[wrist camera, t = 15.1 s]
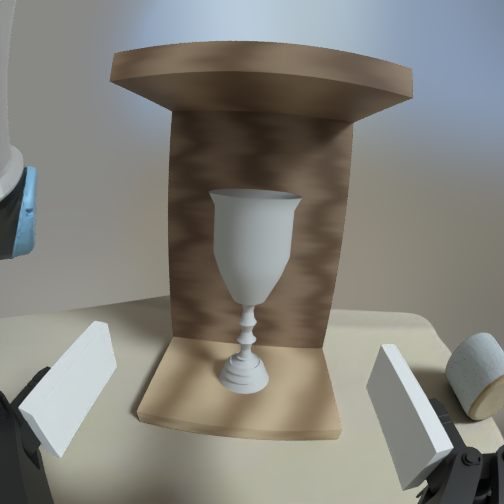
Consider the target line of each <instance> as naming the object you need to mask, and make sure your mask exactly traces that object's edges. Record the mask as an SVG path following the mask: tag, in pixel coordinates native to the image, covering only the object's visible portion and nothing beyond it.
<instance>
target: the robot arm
mask: <svg viewBox="0 0 504 504" xmlns="http://www.w3.org/2000/svg"><path fill="white" fill-rule="evenodd" d="M15 5H16V0H0V260H2V259H13V258H14V257H17V256H21V255H26V254H29V253H30V252H31V251H32V250H33V248H34V246H35V235H36V196H37V195H36V194H37V170H36V168H34V167H30V166H26V167H25V168H24V161H23V157H22V154H21V153H20V151H19V150H18V149H17V148H15V147H13V146H11V145H10V139H9V128H8V110H7V74H8V56H9V45H10V36H11V28H12V22H13V16H14V10H15ZM116 367H117V365H116V361H115V356H114V352H113V348H112V343H111V339H110V334H109V329H108V324H107V323H104V322H98V321H94V322H93V323H92V324H91V325H90V326H89V327H88V328H87V329H86V331H85V332H84V333H83V334H82V335H81V336H80V337H79V338H78V339H77V340H76V341H75V342H74V343H73V344H72V346H71V347H70V348H69V349H68V350H67V351H66V352H65V353H64V354H63V355H62V357H61V358H60V359H59V360H58V361H57V362H56V363H55V364H54V366H53V367H52V368H50V367H46V368H44V369H42V370H40V371H39V372H38V373H37V374H36V375H35V376H34V377H33V378H32V380H31V381H30V382H29V383H28V384H27V386H25V387H24V389H23V390H22V391H21V392H20V393H19V394H18V396H17V397H16V398H15V399H14V400H13V401H12V403H11V404H9V402H8V401H7V399H6V397H5V395H4V394H3V393H2V392H1V391H0V504H54V502H53V499H52V495H51V492H50V489H49V485H48V482H47V478H46V474H45V470H44V466H43V462H42V457H41V453H40V451H39V449H38V447H39V446H40V444H42V446H43V447H44V448H45V450H46V451H47V452H49V453H51V454H53V455H55V456H57V457H59V458H61V457H62V455H63V453H64V452H65V450H66V448H67V446H68V445H69V443H70V441H71V440H72V438H73V436H74V435H75V433H76V431H77V429H78V428H79V426H80V424H81V423H82V421H83V420H84V418H85V416H86V415H87V413H88V411H89V410H90V408H91V406H92V405H93V403H94V402H95V400H96V398H97V397H98V395H99V394H100V392H101V391H102V389H103V387H104V386H105V384H106V383H107V381H108V380H109V378H110V376H111V375H112V373H113V372H114V370H115V369H116ZM366 388H367V391H368V393H369V396H370V398H371V401H372V404H373V406H374V409H375V412H376V414H377V417H378V420H379V422H380V425H381V428H382V431H383V434H384V436H385V439H386V442H387V445H388V448H389V451H390V454H391V456H392V459H393V462H394V465H395V468H396V471H397V475H398V478H399V481H400V484H401V487H402V490H407V489H411V488H414V487H418V486H419V485H420V484H421V483H422V482H423V481H424V480H425V479H426V480H427V483H428V485H427V486H426V487H425V488H424V489H423V490H422V491H421V492H420V493H419V494H418V495H417V496H416V497H417V498H418V497H420V496H421V495H422V496H421V498H420V500H419V502H418V504H504V445H503V446H501V447H500V448H499V449H498V450H497V451H496V453H489V454H481V453H480V452H479V451H478V450H477V449H475V448H473V447H467V446H466V445H465V443H464V442H463V440H462V438H461V436H460V434H459V432H458V431H457V429H456V427H455V425H454V424H453V422H451V421H452V420H451V418H450V417H449V415H448V413H447V411H446V410H445V408H444V406H443V405H442V404H441V403H440V402H439V401H437V400H436V399H435V398H433V399H427V397H426V395H425V393H424V392H423V390H422V388H421V387H420V385H419V383H418V381H417V380H416V378H415V376H414V375H413V373H412V371H411V370H410V368H409V366H408V365H407V363H406V361H405V360H404V358H403V357H402V355H401V353H400V352H399V350H398V349H397V347H396V345H395V344H387V345H381V347H380V350H379V353H378V356H377V358H376V361H375V364H374V367H373V370H372V372H371V375H370V378H369V380H368V383H367V386H366Z"/></svg>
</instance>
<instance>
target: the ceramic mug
mask: <svg viewBox="0 0 504 504" xmlns="http://www.w3.org/2000/svg"><path fill="white" fill-rule="evenodd" d="M445 373H446V377H447V379H448V381H449V383H450V385H451V387H452V388H453V390H454V392H455V394H456V396H457V397H458V399H459V401H460V403H461V405H462V407H463V409H464V411H465V412H466V414H467V415H468V416H469V417H470V418H471V419H473V420H484V419H487V418H489V417H491V416H493V415H494V414H496V413H497V412H498V411H500V410H501V409H502V408H503V407H504V352H503V350H502V349H501V348H500V346H499V345H498V343H497V342H496V340H495V339H494V338H493V336H492V335H490V334H489V333H478V334H476V335H473V336H471V337H469V338H468V339H466V340H465V341H464V342H463V343H461V344H460V345H459V346H458V347H457V349H456V350H455V351H454V352H453V354H452V355H451V357H450V359H449V360H448V363H447V366H446V372H445Z"/></svg>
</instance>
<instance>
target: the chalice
mask: <svg viewBox="0 0 504 504" xmlns="http://www.w3.org/2000/svg"><path fill="white" fill-rule="evenodd" d="M209 193H210V196H211V198H212V200H213V202H214V204H215V219H214V255H215V259H216V262H217V265H218V268H219V271H220V274H221V276H222V278H223V280H224V282H225V284H226V286H227V288H228V290H229V292H230V294H231V296H232V298H233V300H234V301H235V302H237V303H239V304H242V306H243V313H242V316H241V318H240V319H239V321H238V322H239V324H240V325H241V328H242V332H241V334H240V335H239V336H238V337H237V341H238V342H239V343H240V346H241V350H240V352H237V353H234V354H233V355H232V356H230V357H229V358H228V359H227V361H226V363H225V365H224V366H223V369H222V370H221V371H220V373H219V380H220V383H221V384H222V385H223V386H224V387H225V388H226V389H228V390H230V391H232V392H236V393H241V394H249V393H255V392H257V391H260V390H262V389H263V388H264V387H265V386H266V385H267V383H268V381H269V376H268V374H267V372H266V369H265V367H264V363H263V361H262V360H261V359H260V358H259V357H258V356H257V355H256V354H254V353H251V346H252V343H254V342H255V341H256V337H255V336H254V335H253V333H252V329H253V327H254V325H255V324H256V323H257V321H256V320H255V318H254V312H253V310H254V307H255V305H258V304H261V303H263V302H264V301H265V300H266V298H267V297H268V295H269V294H270V292H271V291H272V289H273V288H274V286H275V285H276V283H277V282H278V280H279V279H280V277H281V275H282V273H283V271H284V268H285V266H286V264H287V262H288V260H289V258H290V250H291V240H292V230H293V220H294V210H295V209H296V207H297V206H298V204H299V202H300V201H301V199H302V197H301V196H299V195H296V194H291V193H286V192H279V191H270V190H257V189H217V190H211V191H209Z"/></svg>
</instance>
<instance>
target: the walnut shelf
mask: <svg viewBox="0 0 504 504" xmlns="http://www.w3.org/2000/svg"><path fill="white" fill-rule="evenodd" d="M110 82H112V83H114V84H117V85H119V86H121V87H123V88H125V89H127V90H130V91H132V92H134V93H136V94H138V95H140V96H142V97H144V98H147V99H148V100H150V101H153V102H155V103H157V104H159V105H161V106H163V107H165V108H167V109H169V110H170V111H172V123H171V137H170V156H169V185H168V244H169V245H168V246H169V278H170V298H171V313H172V327H173V338H172V340H171V342H170V344H169V346H168V348H167V350H166V352H165V354H164V356H163V358H162V360H161V362H160V364H159V366H158V368H157V370H156V372H155V374H154V376H153V378H152V380H151V383H150V385H149V387H148V389H147V391H146V393H145V395H144V397H143V399H142V401H141V403H140V405H139V407H138V410H137V414H138V418H139V421H140V422H144V423H148V424H153V425H157V426H162V427H167V428H172V429H177V430H183V431H189V432H195V433H201V434H209V435H216V436H225V437H235V438H247V439H262V440H329V439H338V438H339V436H340V433H341V431H342V426H341V422H340V418H339V413H338V409H337V405H336V401H335V397H334V393H333V389H332V385H331V381H330V377H329V373H328V369H327V365H326V361H325V357H324V354H323V350H322V347H323V342H324V338H325V333H326V329H327V324H328V319H329V314H330V309H331V304H332V298H333V293H334V288H335V282H336V276H337V270H338V264H339V258H340V251H341V245H342V237H343V230H344V222H345V215H346V206H347V197H348V188H349V177H350V166H351V152H352V138H353V123H354V122H356V121H358V120H361V119H363V118H365V117H368V116H370V115H372V114H375V113H377V112H379V111H382V110H384V109H386V108H389V107H391V106H394V105H396V104H398V103H401V102H404V101H406V100H409V99H412V98H413V80H412V69H411V68H408V67H405V66H401V65H398V64H395V63H391V62H388V61H384V60H380V59H376V58H372V57H368V56H363V55H359V54H355V53H349V52H345V51H339V50H334V49H328V48H321V47H314V46H307V45H298V44H288V43H276V42H258V41H210V42H192V43H179V44H170V45H161V46H154V47H147V48H141V49H134V50H129V51H123V52H118V53H114V58H113V63H112V70H111V76H110ZM217 189H257V190H270V191H279V192H286V193H291V194H296V195H299V196H301V197H302V199H301V201H300V202H299V204H298V206H297V207H296V209H295V210H294V220H293V230H292V240H291V250H290V258H289V260H288V262H287V264H286V266H285V268H284V271H283V273H282V275H281V277H280V279H279V280H278V282H277V283H276V285H275V286H274V288H273V289H272V291H271V292H270V294H269V295H268V297H267V298H266V300H265V301H264V302H263V303H261V304H258V305H255V307H254V310H253V312H254V318H255V320H256V321H257V323H256V324H255V325H254V327H253V329H252V333H253V335H254V336H255V337H256V341H255V342H254V343H252V346H251V353H254V354H256V355H257V356H258V357H259V358H260V359H261V360H262V361H263V363H264V367H265V369H266V372H267V374H268V376H269V381H268V383H267V385H266V386H265V387H264V388H263V389H262V390H260V391H257V392H255V393H249V394H241V393H236V392H232V391H230V390H228V389H226V388H225V387H224V386H223V385H222V384H221V383H220V380H219V373H220V371H221V370H222V369H223V366H224V365H225V363H226V361H227V359H228V358H229V357H230V356H232V355H233V354H234V353H237V352H240V350H241V346H240V343H239V342H238V341H237V337H238V336H239V335H240V334H241V332H242V328H241V325H240V324H239V322H238V321H239V319H240V318H241V316H242V313H243V306H242V304H239V303H237V302H235V301H234V300H233V298H232V296H231V294H230V292H229V290H228V288H227V286H226V284H225V282H224V280H223V278H222V276H221V274H220V271H219V268H218V265H217V262H216V259H215V255H214V219H215V204H214V202H213V200H212V198H211V196H210V193H209V191H211V190H217Z"/></svg>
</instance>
